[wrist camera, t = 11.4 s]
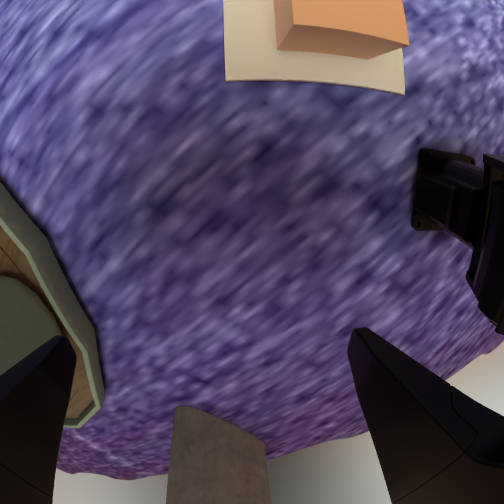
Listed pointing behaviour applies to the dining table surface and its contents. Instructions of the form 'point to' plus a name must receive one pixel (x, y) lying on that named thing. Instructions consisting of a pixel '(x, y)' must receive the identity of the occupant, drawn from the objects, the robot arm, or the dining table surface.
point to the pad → (296, 55)
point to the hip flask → (215, 462)
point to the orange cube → (341, 26)
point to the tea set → (43, 309)
